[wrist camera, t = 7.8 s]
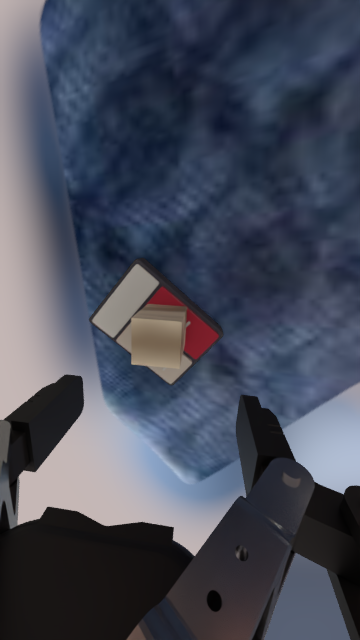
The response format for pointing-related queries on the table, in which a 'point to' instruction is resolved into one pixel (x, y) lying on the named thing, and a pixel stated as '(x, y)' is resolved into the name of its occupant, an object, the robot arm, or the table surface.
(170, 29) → the table surface
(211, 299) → the table surface
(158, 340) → the maple block
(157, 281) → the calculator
